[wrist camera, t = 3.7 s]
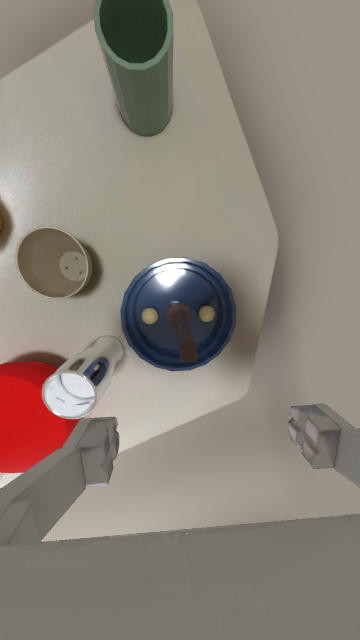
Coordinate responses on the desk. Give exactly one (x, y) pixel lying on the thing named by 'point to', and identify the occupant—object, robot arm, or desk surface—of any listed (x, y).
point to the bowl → (166, 288)
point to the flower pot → (53, 262)
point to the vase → (28, 417)
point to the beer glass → (82, 379)
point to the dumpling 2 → (206, 313)
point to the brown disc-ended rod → (182, 330)
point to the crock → (138, 59)
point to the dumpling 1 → (149, 315)
